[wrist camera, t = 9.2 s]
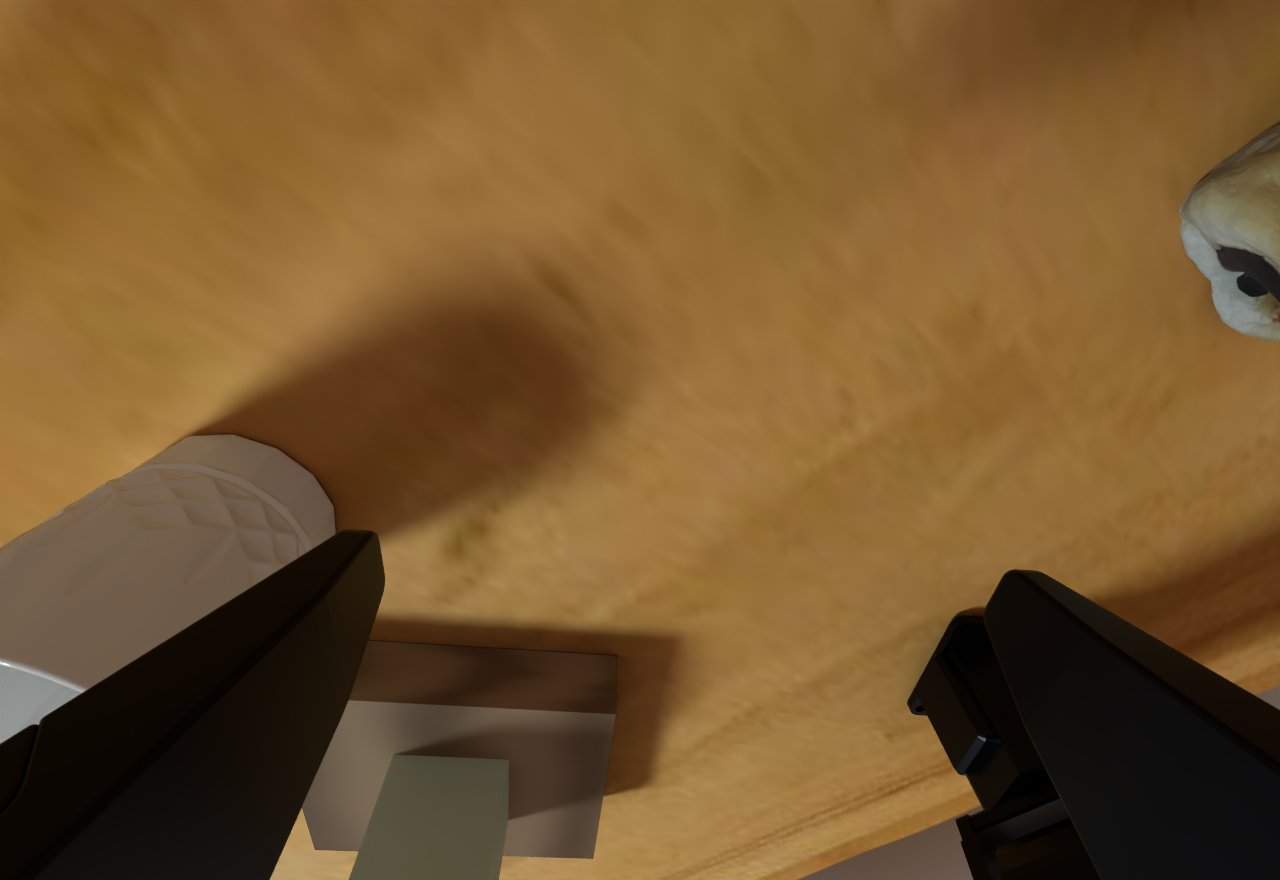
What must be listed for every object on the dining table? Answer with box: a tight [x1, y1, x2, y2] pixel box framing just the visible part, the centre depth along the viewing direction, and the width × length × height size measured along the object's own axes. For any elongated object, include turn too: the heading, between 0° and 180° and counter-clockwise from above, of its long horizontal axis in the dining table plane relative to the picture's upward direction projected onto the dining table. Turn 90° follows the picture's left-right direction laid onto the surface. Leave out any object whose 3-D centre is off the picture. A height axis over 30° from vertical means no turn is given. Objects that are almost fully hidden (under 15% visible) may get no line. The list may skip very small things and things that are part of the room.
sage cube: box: [349, 755, 509, 880], centre depth 24 cm, size 5×5×5 cm
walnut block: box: [302, 641, 617, 859], centre depth 28 cm, size 14×12×3 cm
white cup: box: [0, 434, 336, 744], centre depth 18 cm, size 8×8×10 cm
